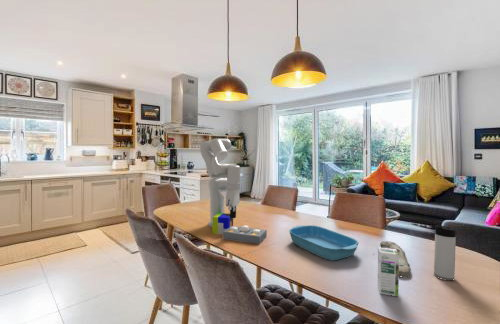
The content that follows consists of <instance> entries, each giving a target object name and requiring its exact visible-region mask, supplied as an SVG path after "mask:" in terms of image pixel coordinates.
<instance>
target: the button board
mask: <svg viewBox="0 0 500 324" xmlns="http://www.w3.org/2000/svg"><path fill="white" fill-rule="evenodd" d="M231 227H237V228H238V230H237V231H230V227H229V228H228V229H226V230H225V231H223V234H222V240H229V241H235V242H243V243H249V244H250V243H251V244H258V245H260V244H262V243H263V241H264V240H265V239H266V238H267V237H268V236H267V232H268V230H267V229H261V228H258V229H259V230H260V234H254V233H253V230H254V229H255V228H254V227H253V228H252V227H249V232H248V233H246V232H241V226H235V225H233V226H231Z"/></svg>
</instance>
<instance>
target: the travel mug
mask: <svg viewBox="0 0 500 324" xmlns="http://www.w3.org/2000/svg"><path fill="white" fill-rule="evenodd" d="M456 233H457V230H456V229H454V228H451V227H449V226H444V225H435V230H434V259H433V261H434V262H433V275H434V276H435V277H436V276H437V277H439V278H442V279H446V280H453V279H454V278H455V277H456V276H455V273H456V272H455V271H456V244H457V243H456V241H457V240H456V238H457V236H456ZM437 277H436V278H437ZM439 278H438V279H439ZM442 279H441V280H442ZM455 279H456V278H455ZM455 279H454V280H455ZM446 280H445V281H446ZM454 280H453V281H454Z"/></svg>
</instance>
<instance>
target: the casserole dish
mask: <svg viewBox="0 0 500 324" xmlns="http://www.w3.org/2000/svg"><path fill="white" fill-rule="evenodd" d="M288 232H289V234H290V238H291V241H292V242H293V243H294V244H295V245H296V246H299V247H300V248H302V249H303V250H306V251H308V252H310V253H312V254H314V255H316V256H318V257H320V256H321V257H320V258H322V257H323V259H325V260H328V259H329V260H328V261H339V259H340V260H342V258H343V259H346V258H348V257H351V256H353V255H354V253H356V250H357V249H358V245H359V243H360V242H359V240H357V239H356V238H353V237H351V236H348V235H345V234H342V233H339V232H337V231H334V230H331V229H328V228H326V227H323V226H318V225H313V224H312V225H311V224H310V225H307V224H306V225H296V226H293V227H292V228H290V229H289V230H288ZM345 257H346V258H345Z"/></svg>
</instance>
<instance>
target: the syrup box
mask: <svg viewBox="0 0 500 324" xmlns="http://www.w3.org/2000/svg"><path fill="white" fill-rule="evenodd" d="M399 278H400V277H399V254H398V252H397V250H396V249H388V248H381V246H379V247H377V288H378V292H379V294H380V293H381V294H380V295H387V296H391V295H392V297H396V296H397V297H398V298H399V286H400V285H399V281H400V279H399Z"/></svg>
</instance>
